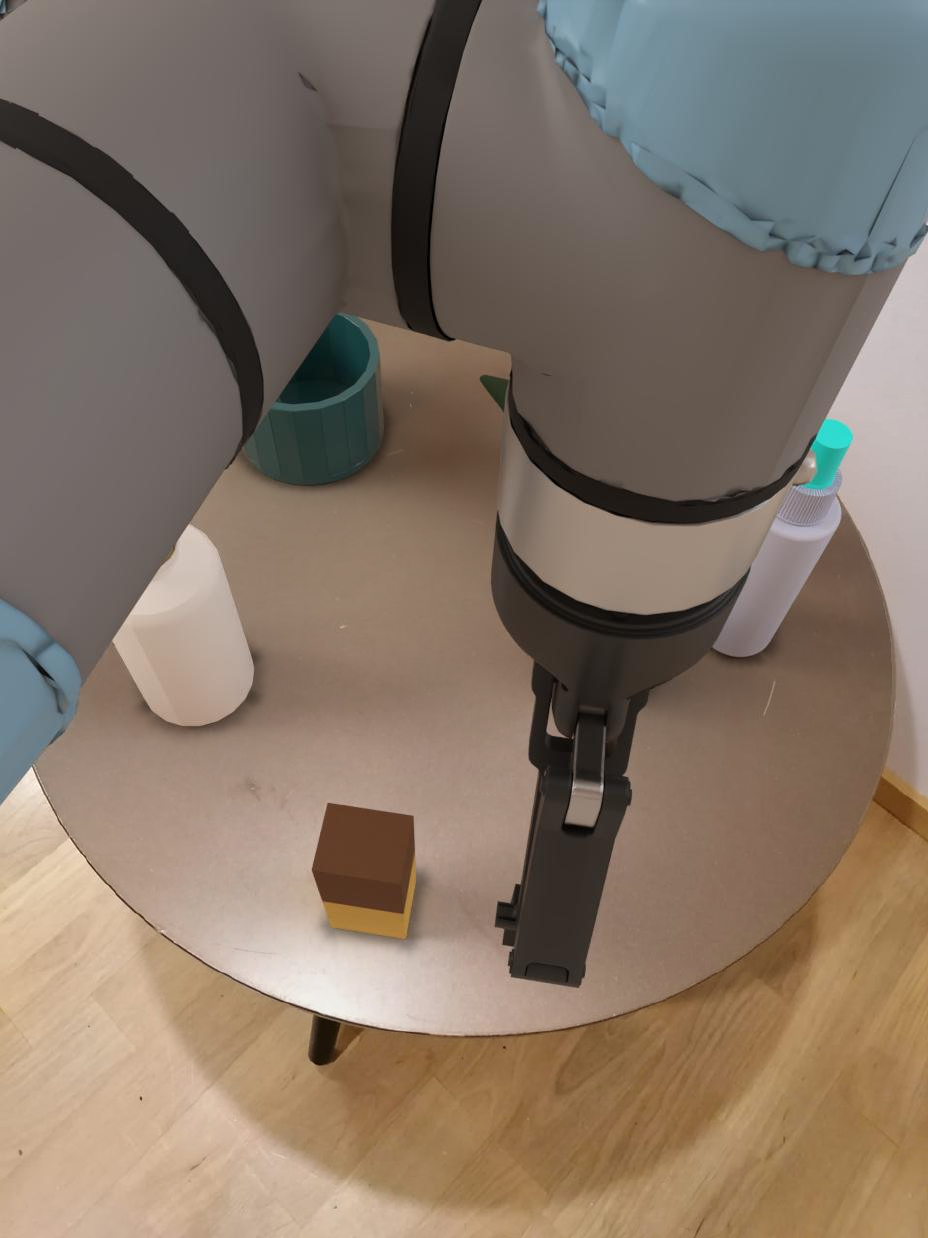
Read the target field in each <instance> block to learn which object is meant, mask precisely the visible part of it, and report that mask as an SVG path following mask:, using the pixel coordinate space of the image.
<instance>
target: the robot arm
mask: <svg viewBox="0 0 928 1238" xmlns="http://www.w3.org/2000/svg"><path fill="white" fill-rule="evenodd" d="M927 223H928V0H0V807H1V805H3V803H4V802H5V801H6V799H8V797H9V796H10V794H11V793H12V792H13V791H14V789H15V788H16V787H17V786H18V785H19V783H20V782H21V781H22V780H23V779H24V777H25V776H26V774H27V773H28V772H29V771H30V769H32V767H33V766H34V765H35V763H36V762H38V760H39V758H40V757H41V756H42V754H43V753H44V752H45V751H46V750H47V749H48V747H49V746H51V745H52V744H53V743H54V742H55V741H56V740H57V739H59V738H60V737H61V736H62V735H64V733H65V732H66V730H67V729H68V727H70V725H71V723H72V722H73V719H74V718H75V716H76V714H77V711H78V705H79V699H80V692H81V688H82V687H83V686H84V684H85V683H86V681H87V680H88V679H89V677H90V675H91V673H92V672H93V670H94V669H95V667H96V666H97V665H98V662H99V661H100V660H101V658H102V657H103V655H104V654H105V652H106V651H107V649H108V648H109V646H110V645H111V643H112V642H113V641H112V640H113V638H114V637H115V635H116V634H117V632H118V631H119V629H120V628H121V626H122V625H123V623H124V622H125V620H126V619H127V617H128V616H129V614H130V613H131V611H132V610H133V608H134V607H135V605H136V603H137V602H138V600H139V599H140V597H141V596H142V594H143V593H144V591H145V590H146V588H147V587H148V585H149V584H150V582H151V581H152V579H153V578H154V576H155V575H156V573H157V572H158V570H159V569H160V567H161V566H162V564H163V562H164V561H165V559H166V558H167V556H168V555H169V553H170V552H171V550H172V549H173V547H174V546H175V544H176V543H177V541H178V540H179V538H180V537H181V535H182V534H183V532H184V531H185V529H186V528H187V526H188V525H189V524H190V523H191V522H192V520H193V518H194V517H195V515H196V514H197V512H198V511H199V509H200V508H201V506H202V505H203V503H204V502H205V501H206V499H207V497H208V496H209V494H210V493H211V491H212V490H213V488H214V486H215V485H216V484H217V482H218V481H219V479H220V478H221V476H222V474H223V473H224V471H225V470H228V469H229V468H230V466H231V465H233V463H234V461H235V460H236V458H237V456H238V455H239V454H240V452H241V450H242V447H243V446H244V445H246V444H247V442H248V441H249V439H250V438H251V436H252V435H253V433H254V432H255V430H256V429H257V427H258V426H259V425H260V423H261V422H262V420H263V419H264V417H265V416H266V414H267V413H268V411H269V410H270V408H271V407H272V405H273V404H274V403H275V401H276V400H277V398H278V397H279V395H280V394H281V392H282V391H283V390H284V388H285V387H286V385H287V384H288V382H289V381H290V379H291V378H292V377H293V375H294V374H295V372H296V371H297V369H298V368H299V366H300V365H301V364H302V362H303V361H304V359H305V358H306V356H307V355H308V353H309V352H310V351H311V349H312V348H313V346H314V345H315V343H316V342H317V340H318V339H319V338H320V336H321V335H322V333H323V332H324V330H325V329H326V327H327V326H328V325H329V323H330V321H331V320H332V319H333V317H334V316H335V315H336V314H338V313H344V314H348V315H352V316H356V317H358V318H359V319H364V320H367V321H371V322H375V323H379V324H383V325H387V326H390V327H395V328H399V329H401V330H406V331H410V332H414V333H418V334H421V335H425V336H428V337H432V338H435V339H438V340H441V341H445V342H449V343H450V342H454V341H456V340H458V341H461V342H465V343H469V344H472V345H475V346H480V347H484V348H488V349H492V350H496V351H501V352H504V353H507V354H510V360H511V361H510V362H511V367H510V368H511V369H510V372H509V378H508V380H509V382H508V386H507V391H506V395H505V406H504V413H503V420H502V430H501V442H500V443H501V444H500V456H499V465H498V467H499V468H498V478H497V489H496V500H495V501H496V508H497V511H496V520H495V530H494V538H493V539H494V540H493V550H492V560H491V570H490V586H491V594H492V600H493V603H494V607H495V610H496V613H497V615H498V617H499V619H500V622H501V623H502V625H503V627H504V628H505V630H506V631H507V633H508V634H509V636H510V638H512V640H513V641H514V642H515V643H516V645H517V646H518V647H519V648H520V650H522V651H523V652H524V654H526V655H527V656H528V657H530V659H532V660H533V661H532V662H533V663H532V670H531V683H530V684H531V691H532V692H533V695H534V698H535V699H534V704H533V711H532V718H531V724H530V731H529V738H528V751H527V752H528V753H527V754H528V761H529V762H530V764H531V765H532V766H533V767H534V768H536V770H537V771H538V772H537V778H536V784H535V790H534V798H533V802H532V809H531V815H530V821H529V828H528V836H527V841H526V848H525V854H524V860H523V866H522V873H521V880H520V883H515V884H514V888H513V892H512V894H511V895H512V896H511V898H510V899H511V900H510V902H505V901H499V900H497V904H496V911H495V918H494V928H498V929H503V933H502V934H503V935H502V942H501V945H502V946H506V947H511V951H509V952H508V959H507V967H509V968H508V974H509V975H510V978H512V979H513V978H514V979H519V980H525V981H531V982H538V983H544V984H550V985H556V986H563V987H567V988H569V987H570V988H576V989H579V988H580V987H581V986H582V983H583V979H585V977H586V971H587V959H588V954H589V951H590V945H591V941H592V937H593V933H594V929H595V925H596V921H597V918H598V914H599V913H598V912H599V909H600V905H601V900H602V897H603V891H604V887H605V883H606V880H607V875H608V871H609V866H610V862H611V859H612V855H613V850H614V846H615V843H616V839H617V836H618V833H619V831H620V828H621V826H622V823H623V821H624V819H625V815H626V812H627V808H628V807H629V806H631V805H632V800H633V789H632V788H631V787H632V784H631V781H630V778H629V776H625V774H626V773H627V771H628V768H629V767H628V766H629V762H630V757H631V752H632V745H633V740H634V734H635V729H636V725H637V719H638V715H639V713H640V712H641V711H642V710H643V709H644V708H645V707H646V706H647V703H648V701H649V696H650V693H651V692H650V691H651V689H650V687H652V686H655V685H657V684H660V683H662V682H665V681H667V680H669V679H671V680H673V679H674V678H676V677H677V676H680V675H681V674H683V673H685V672H686V671H688V670H690V669H691V668H692V667H694V666H695V665H697V664H698V663H699V662H700V661H701V660H702V659H703V658H704V657H705V656H707V654H708V653H709V652H710V651H711V649H713V648H712V646H713V645H714V643H715V642H716V640H717V639H718V637H719V635H720V633H721V631H722V629H723V627H724V625H725V623H726V621H727V619H728V617H729V615H730V613H731V611H732V609H733V607H734V605H735V603H736V601H737V599H738V597H739V595H740V593H741V591H742V589H743V587H744V585H745V583H746V581H747V578H748V575H749V573H750V569H751V565H752V563H753V561H754V560H755V558H756V557H757V555H758V553H759V551H760V549H761V547H762V545H763V543H764V540H765V538H766V536H767V534H768V532H769V530H770V528H771V526H772V524H773V522H774V520H775V517H776V515H777V513H778V511H779V509H780V507H781V505H782V503H783V501H784V499H785V497H786V495H787V493H788V491H789V489H790V487H791V486H800V485H804V484H807V483H810V482H811V481H812V479H813V478H814V476H815V475H816V473H817V464H816V455H815V453H814V451H813V450H810V448H811V446H812V444H813V442H814V441H815V440H816V437H817V434H818V432H819V430H820V428H821V426H822V424H823V422H824V420H825V419H827V417H828V415H829V413H830V411H831V409H832V408H833V405H834V403H835V402H836V399H837V397H838V395H839V393H840V391H841V389H842V388H843V386H844V384H845V382H846V380H847V378H848V376H849V374H850V372H851V370H852V368H853V366H854V364H855V362H856V360H857V359H858V357H859V354H860V353H861V351H862V349H863V347H864V345H865V343H866V341H867V339H868V337H869V336H870V334H871V331H872V330H873V327H874V325H875V323H876V322H877V320H878V318H879V316H880V314H881V312H882V310H883V308H884V306H885V304H886V302H887V300H888V299H889V297H890V294H891V293H892V291H893V288H894V287H895V285H896V283H897V282H898V279H899V277H900V276H901V273H902V272H903V271H904V267H905V266H906V264H907V262H908V260H909V258H910V257H912V256H914V255H916V253H917V252H918V250H919V248H920V246H921V245H922V244H923V241H924V240H925V238H926V237H927V235H928V225H927ZM672 678H673V679H672ZM550 712H552V719H553V722H554V727H555V728H556V730H557V731H558V732H559V734H561V735H562V736H556V735H552V734H550V733H549V732H548V724H549V718H550Z"/></svg>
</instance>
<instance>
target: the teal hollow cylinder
mask: <svg viewBox="0 0 928 1238" xmlns="http://www.w3.org/2000/svg"><path fill="white" fill-rule="evenodd" d="M383 400H384V399H383V384H382V367H381V354H380V348H379V342H378V338H377V336H376V335H375V334H374V332H373V331H372V329H371V328H370V327H369V324H367V323H366V322H365V321H364V320H362V318H360V317H356V316H352V315H348V314H344V313H338V314H336V315H335V316H334V317H333V319H332V320H331V321H330V323H329V325H328V326H327V327H326V329H325V330H324V332H323V333H322V335H321V336H320V338H319V339H318V340H317V342H316V343H315V345H314V346H313V348H312V349H311V351H310V352H309V353H308V355H307V356H306V358H305V359H304V361H303V362H302V364H301V365H300V366H299V368H298V369H297V371H296V372H295V374H294V375H293V377H292V378H291V379H290V381H289V382H288V384H287V385H286V387H285V388H284V390H283V391H282V392H281V394H280V395H279V397H278V398H277V400H276V401H275V403H274V404H273V405H272V407H271V408H270V410H269V411H268V413H267V414H266V416H265V417H264V419H263V420H262V422H261V423H260V425H259V426H258V427H257V429H256V430H255V432H254V433H253V435H252V436H251V438H250V439H249V441H248V442H247V444H246V445H244V446H243V447H242V448H241V450H242V452H243V455H244V456H245V457H246V459H247V461H248V462H249V463H250V464H251V465H252V466H253V467H254V468H255V469H256V470H258V471H259V472H260V473H262V474H263V475H265V476H267V477H269V478H271V479H274V480H275V481H279V482H282V483H285V484H291V485H298V486H299V485H300V486H316V485H317V486H318V485H325V484H329V483H333V482H336V481H340V480H342V479H345V478H347V477H349V476H352V475H353V474H354V473H357V472H358V471H360V470H361V469H362V468H364V467H365V466H366V465H367V464H368V463H369V462H370V461H371V460H372V459H373V458H374V456H375V455H376V454H377V452H378V450H379V449H380V447H381V444H382V442H383V437H384V427H385V420H384V419H385V418H384V417H385V416H384V402H383Z"/></svg>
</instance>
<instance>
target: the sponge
mask: <svg viewBox="0 0 928 1238" xmlns="http://www.w3.org/2000/svg"><path fill="white" fill-rule="evenodd" d="M415 836H416V835H415V816H414V815H412V814H405V813H398V812H392V811H386V810H379V809H372V808H366V807H360V806H354V805H353V806H352V805H346V804H341V803H333V802H327V803H326V809H325V811H324V816H323V820H322V824H321V829H320V832H319V837H318V841H317V845H316V850H315V853H314V858H313V862H312V866H311V873H312V876H313V879H314V881H315V884H316V888H317V890H318V893H319V896H320V899H321V903H322V905H323V908H324V911H325V914H326V916H327V920H328V922H329V925H330V928H333V929H340V930H345V931H352V932H359V933H365V934H369V935H375V936H376V935H377V936H383V937H389V938H394V939H395V938H396V939H403V940H407V935H408V929H409V925H410V924H409V923H410V917H411V913H412V906H413V900H414V896H415V890H416V884H417V863H416V861H417V860H416V838H415Z"/></svg>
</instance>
